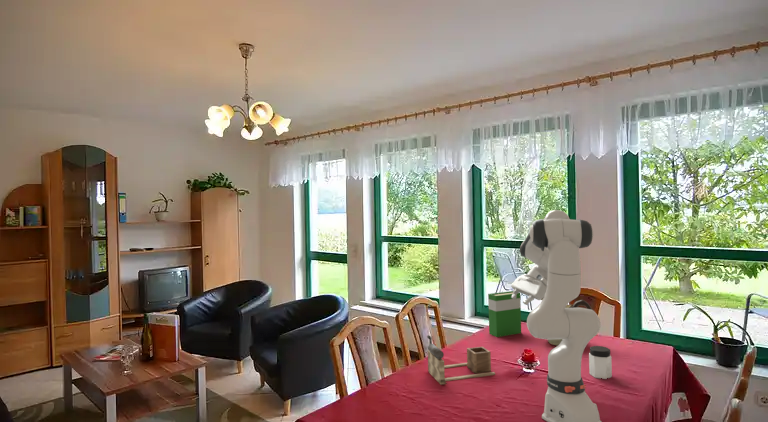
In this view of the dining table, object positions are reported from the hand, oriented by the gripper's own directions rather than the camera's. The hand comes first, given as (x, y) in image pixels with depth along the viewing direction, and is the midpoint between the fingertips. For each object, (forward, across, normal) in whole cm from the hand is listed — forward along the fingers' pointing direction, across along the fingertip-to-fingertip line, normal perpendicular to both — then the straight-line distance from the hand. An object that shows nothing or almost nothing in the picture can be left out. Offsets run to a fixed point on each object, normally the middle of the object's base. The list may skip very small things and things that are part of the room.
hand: (518, 301), depth 206 cm
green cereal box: (+8, -52, +44) cm, 69 cm away
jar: (+3, +21, +42) cm, 47 cm away
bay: (+43, -3, +2) cm, 43 cm away
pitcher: (-6, -24, +56) cm, 62 cm away
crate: (+36, -3, +8) cm, 37 cm away
